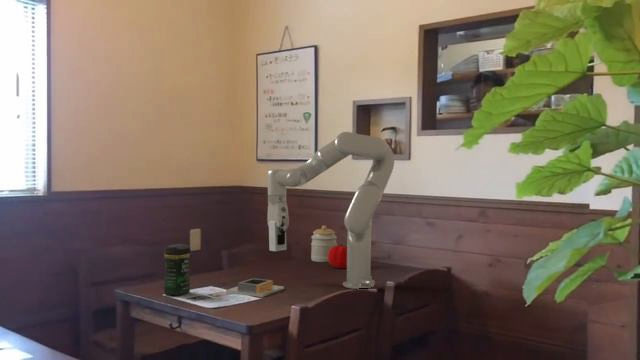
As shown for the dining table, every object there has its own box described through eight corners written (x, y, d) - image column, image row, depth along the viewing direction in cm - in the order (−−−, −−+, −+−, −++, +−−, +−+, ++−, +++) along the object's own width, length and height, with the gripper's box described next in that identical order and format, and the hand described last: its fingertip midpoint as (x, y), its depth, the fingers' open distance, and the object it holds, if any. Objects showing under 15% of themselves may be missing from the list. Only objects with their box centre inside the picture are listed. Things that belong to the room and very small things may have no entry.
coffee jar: (178, 297, 222) (178, 246, 221) (160, 295, 225) (160, 245, 224) (193, 292, 231) (193, 243, 230) (176, 290, 234) (176, 241, 233)
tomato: (331, 270, 280) (331, 245, 279) (325, 265, 291) (325, 242, 290) (356, 269, 282) (356, 245, 282) (349, 265, 294) (349, 242, 293)
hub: (283, 289, 238) (284, 280, 238) (262, 297, 223) (262, 287, 223) (248, 285, 245) (249, 276, 245) (226, 292, 230) (226, 283, 230)
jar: (308, 262, 301) (309, 226, 301) (313, 257, 314) (313, 223, 314) (334, 263, 299) (335, 227, 299) (338, 258, 312) (338, 224, 312)
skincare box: (280, 249, 254) (279, 220, 254) (286, 250, 251) (286, 220, 251) (268, 250, 250) (268, 221, 249) (275, 251, 247) (275, 222, 246)
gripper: (295, 199, 245) (296, 245, 245) (274, 198, 259) (275, 241, 259) (279, 200, 241) (280, 246, 241) (259, 198, 255) (259, 242, 255)
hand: (277, 243), depth 250 cm, fingers closed on skincare box, 4 cm apart
